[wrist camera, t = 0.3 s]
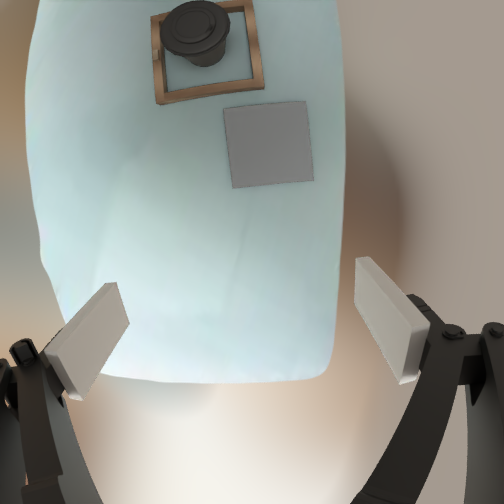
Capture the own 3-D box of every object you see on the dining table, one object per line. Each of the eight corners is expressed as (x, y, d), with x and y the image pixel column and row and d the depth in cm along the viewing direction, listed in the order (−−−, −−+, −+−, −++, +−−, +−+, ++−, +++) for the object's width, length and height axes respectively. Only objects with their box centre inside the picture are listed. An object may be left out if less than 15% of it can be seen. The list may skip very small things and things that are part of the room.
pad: (223, 109, 37) (223, 108, 36) (304, 102, 36) (305, 101, 35) (233, 187, 40) (232, 188, 39) (312, 180, 40) (313, 180, 39)
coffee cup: (237, 72, 35) (232, 48, 25) (179, 80, 35) (157, 60, 26) (233, 23, 32) (227, -9, 23) (176, 32, 33) (156, 3, 23)
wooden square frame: (154, 21, 32) (149, 15, 29) (251, 4, 31) (251, -4, 29) (160, 105, 36) (154, 102, 34) (263, 89, 36) (264, 85, 33)
